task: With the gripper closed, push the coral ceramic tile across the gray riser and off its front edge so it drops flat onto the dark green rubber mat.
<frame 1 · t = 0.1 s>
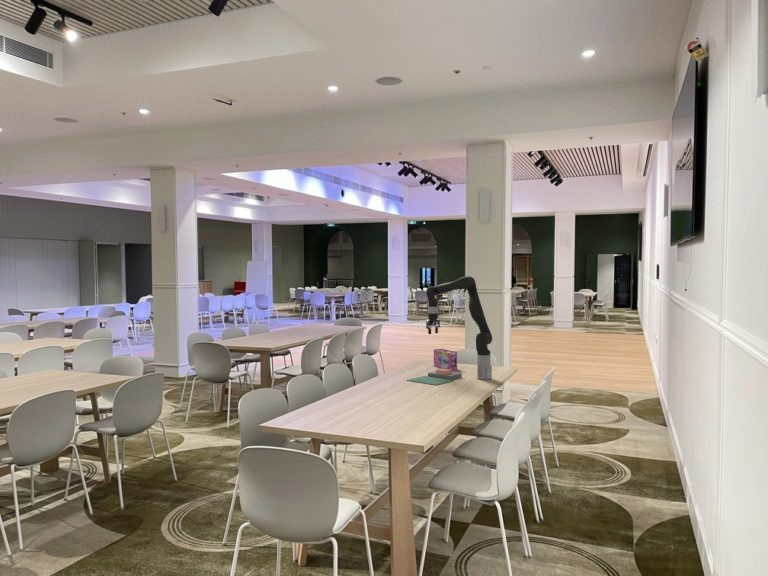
hand: (433, 333, 435), 29 cm above the table, fingers open, 8 cm apart
coral tile: (443, 373, 412), point 3 cm above the table, touching gray riser
green mat: (430, 380, 400), on the table
gum box: (445, 368, 453), on the table
gray riser: (444, 377, 413), on the table
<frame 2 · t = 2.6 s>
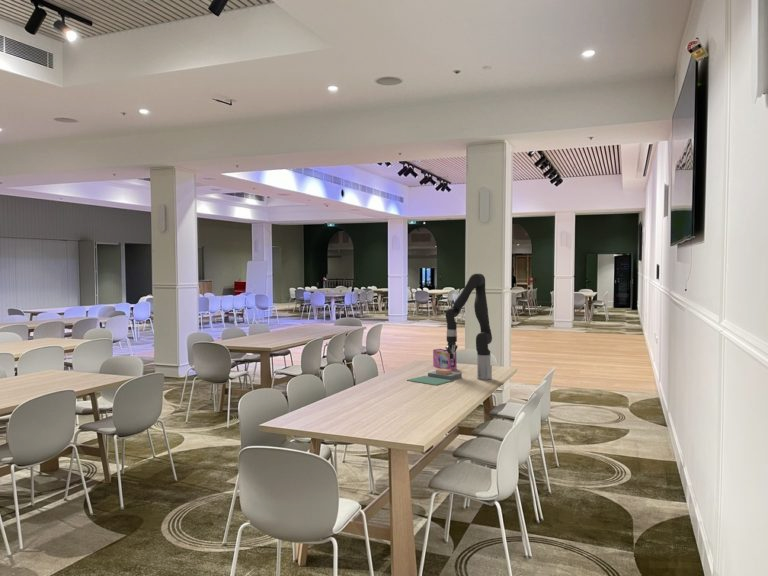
hand: (451, 358, 419), 12 cm above the table, fingers closed
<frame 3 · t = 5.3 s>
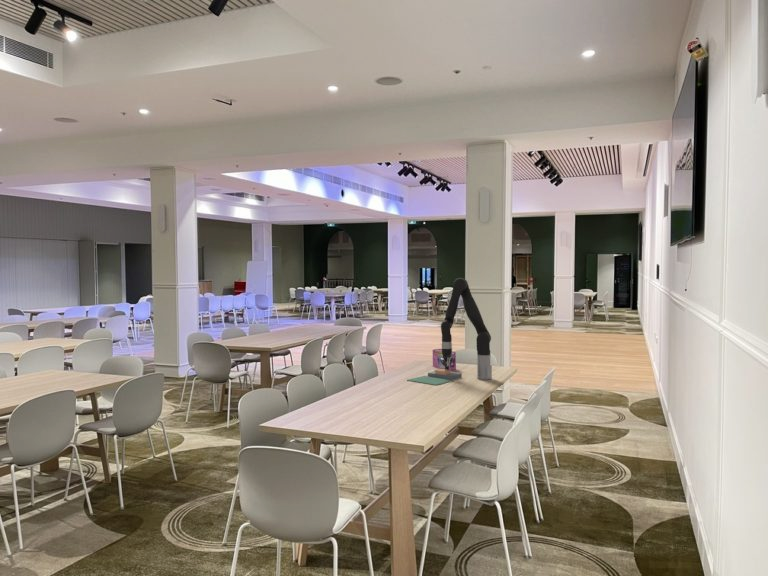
hand: (446, 371, 415), 4 cm above the table, fingers closed
coral tile: (442, 373, 411), point 3 cm above the table, touching gray riser, gripper
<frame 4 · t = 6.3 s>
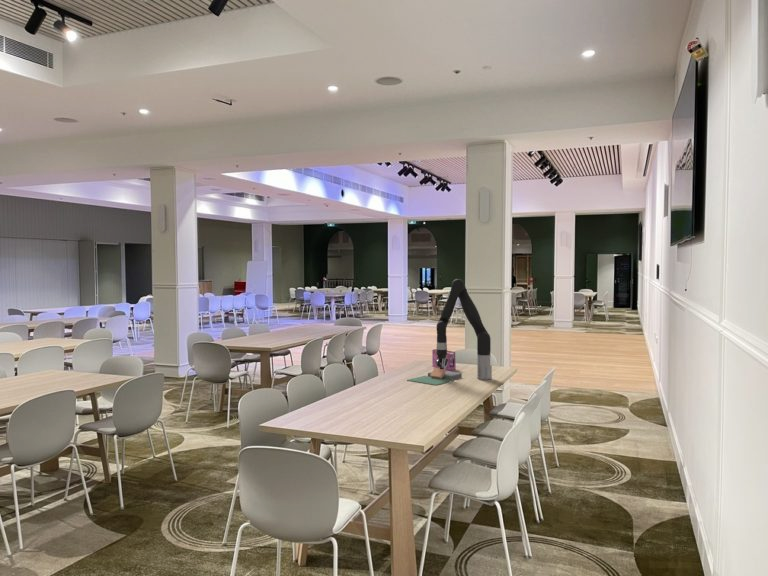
hand: (441, 372, 410), 4 cm above the table, fingers closed
coral tile: (438, 374, 407), point 3 cm above the table, tilted 40°, touching green mat
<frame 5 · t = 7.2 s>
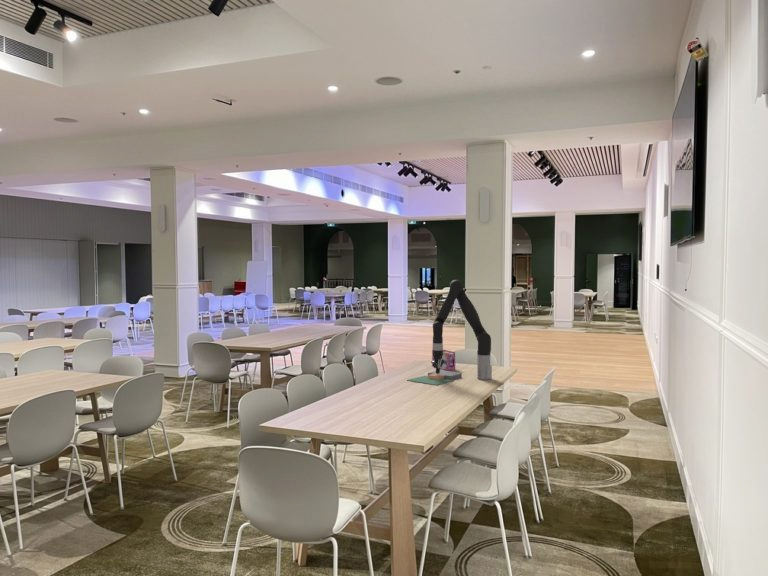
hand: (437, 373, 407), 4 cm above the table, fingers closed
coral tile: (436, 378, 405), point 1 cm above the table, touching green mat
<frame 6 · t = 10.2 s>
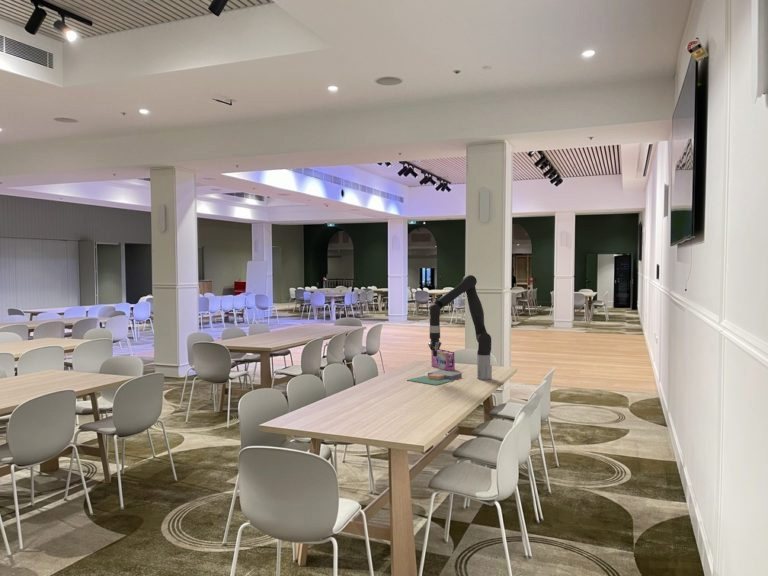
hand: (435, 356, 404), 17 cm above the table, fingers closed
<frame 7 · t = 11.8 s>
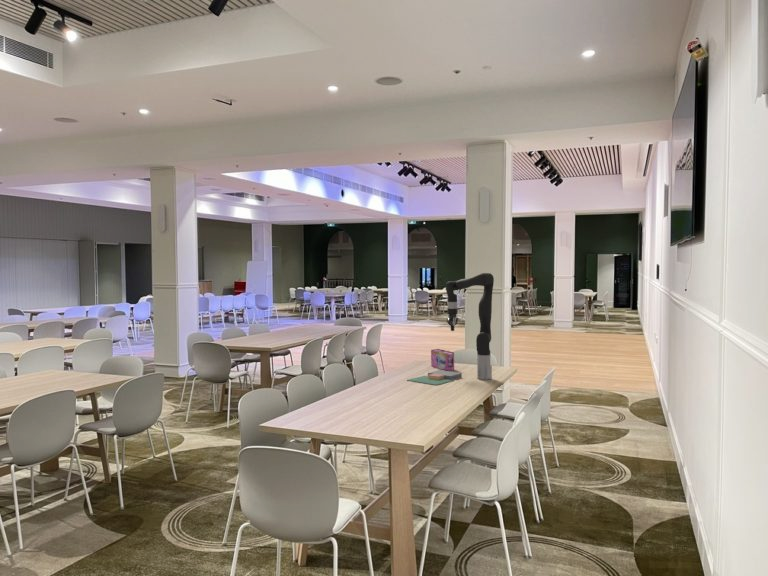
hand: (452, 330, 428), 32 cm above the table, fingers closed
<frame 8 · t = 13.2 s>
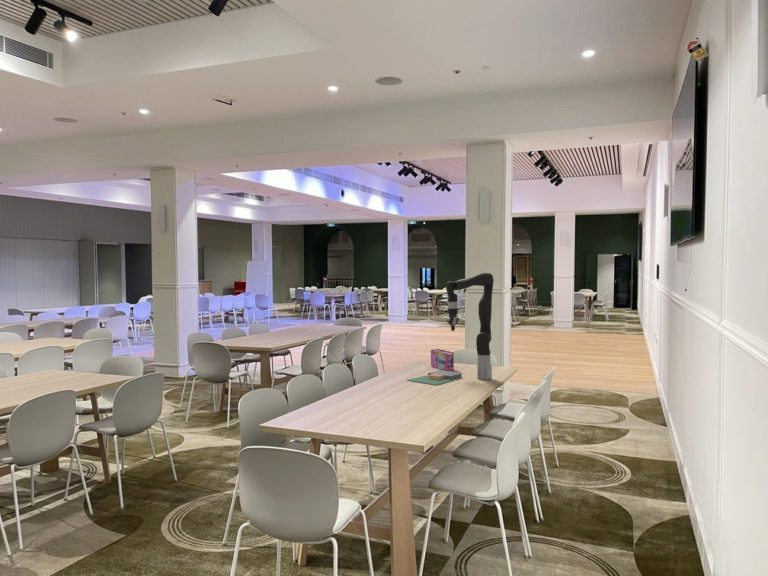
hand: (453, 330, 428), 32 cm above the table, fingers closed
at the end: coral tile point 0.6 cm above the table; coral tile inside the target area on the green mat (6.8 cm from its centre), point 0.6 cm above the green mat's base; coral tile tilted 0° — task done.
